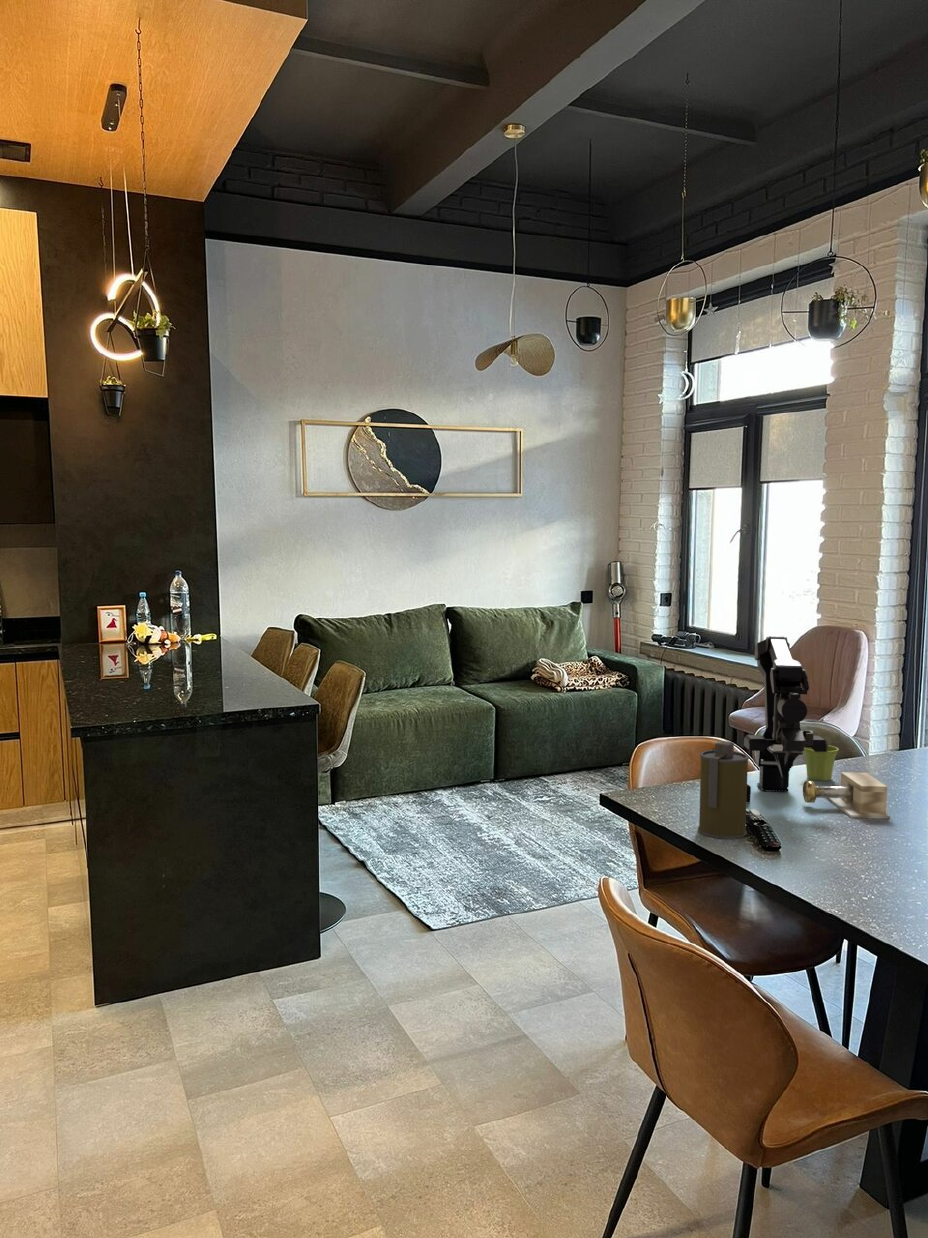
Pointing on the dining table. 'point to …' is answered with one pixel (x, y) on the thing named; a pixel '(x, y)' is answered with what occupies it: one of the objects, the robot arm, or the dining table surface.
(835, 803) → the block
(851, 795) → the door knob
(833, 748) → the plant pot
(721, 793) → the canister
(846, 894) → the dining table surface
